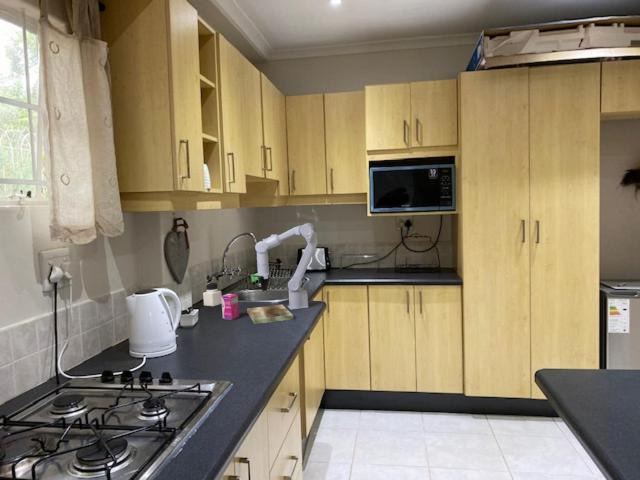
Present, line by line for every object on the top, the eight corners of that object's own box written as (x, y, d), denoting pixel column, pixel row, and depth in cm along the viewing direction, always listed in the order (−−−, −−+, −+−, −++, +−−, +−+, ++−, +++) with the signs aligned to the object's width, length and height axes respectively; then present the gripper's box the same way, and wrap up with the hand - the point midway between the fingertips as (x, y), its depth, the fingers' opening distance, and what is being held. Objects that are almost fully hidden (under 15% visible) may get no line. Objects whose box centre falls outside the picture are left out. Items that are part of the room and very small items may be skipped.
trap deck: (282, 308, 237) (282, 304, 237) (293, 319, 214) (293, 315, 214) (247, 312, 232) (247, 308, 232) (254, 324, 209) (254, 319, 209)
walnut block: (276, 313, 219) (276, 305, 219) (279, 316, 213) (279, 307, 213) (264, 314, 217) (263, 306, 217) (266, 317, 212) (266, 309, 211)
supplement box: (222, 319, 221) (220, 296, 220) (230, 316, 226) (228, 293, 225) (232, 320, 218) (230, 296, 217) (239, 317, 223) (238, 294, 222)
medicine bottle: (222, 303, 256) (220, 282, 255) (213, 306, 250) (211, 284, 249) (213, 302, 260) (211, 281, 258) (203, 305, 254) (202, 283, 252)
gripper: (252, 263, 243) (254, 288, 244) (257, 267, 229) (259, 294, 230) (266, 262, 245) (267, 287, 246) (271, 265, 231) (273, 292, 232)
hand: (264, 290), depth 238 cm, fingers closed
